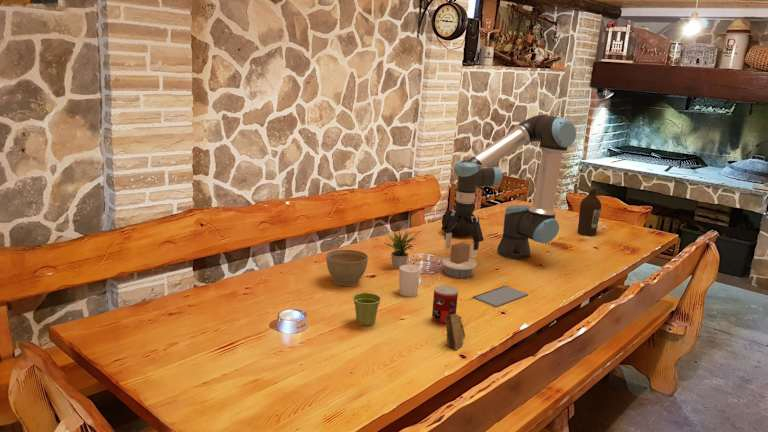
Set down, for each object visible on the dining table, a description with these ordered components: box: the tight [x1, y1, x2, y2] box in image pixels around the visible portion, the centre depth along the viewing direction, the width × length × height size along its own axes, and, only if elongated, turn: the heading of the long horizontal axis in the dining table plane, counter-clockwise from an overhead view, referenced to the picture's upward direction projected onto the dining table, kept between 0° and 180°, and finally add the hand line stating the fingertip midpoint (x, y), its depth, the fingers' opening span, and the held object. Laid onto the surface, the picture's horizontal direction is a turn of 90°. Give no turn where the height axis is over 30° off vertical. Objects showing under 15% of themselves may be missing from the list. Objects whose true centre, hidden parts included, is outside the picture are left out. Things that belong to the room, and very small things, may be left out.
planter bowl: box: [325, 249, 369, 287], centre depth 239 cm, size 16×16×11 cm
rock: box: [445, 313, 466, 352], centre depth 195 cm, size 11×9×10 cm
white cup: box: [398, 264, 422, 298], centre depth 232 cm, size 8×8×10 cm
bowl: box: [444, 266, 474, 279], centre depth 254 cm, size 11×11×5 cm
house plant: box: [385, 230, 418, 269], centre depth 256 cm, size 14×14×16 cm
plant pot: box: [352, 292, 382, 327], centre depth 205 cm, size 9×9×9 cm
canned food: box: [431, 285, 459, 325], centre depth 210 cm, size 8×8×11 cm
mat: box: [471, 285, 529, 308], centre depth 238 cm, size 20×20×1 cm
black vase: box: [441, 207, 476, 238], centre depth 309 cm, size 18×18×28 cm
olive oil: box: [577, 186, 602, 237], centre depth 326 cm, size 11×11×25 cm
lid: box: [441, 242, 478, 270], centre depth 253 cm, size 14×14×8 cm
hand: (460, 252), depth 253 cm, fingers open, 13 cm apart
